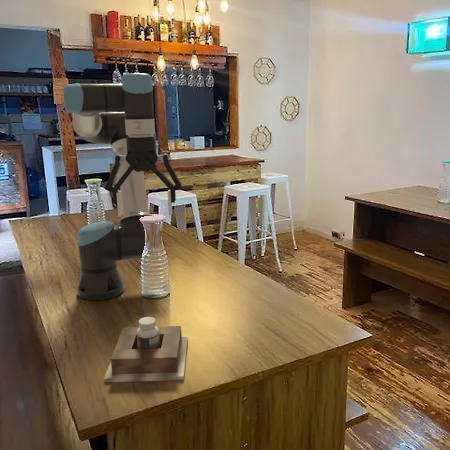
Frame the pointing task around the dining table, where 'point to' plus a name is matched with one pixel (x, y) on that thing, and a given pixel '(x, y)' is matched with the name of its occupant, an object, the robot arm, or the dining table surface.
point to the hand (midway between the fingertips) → (145, 214)
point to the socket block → (148, 357)
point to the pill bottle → (148, 334)
